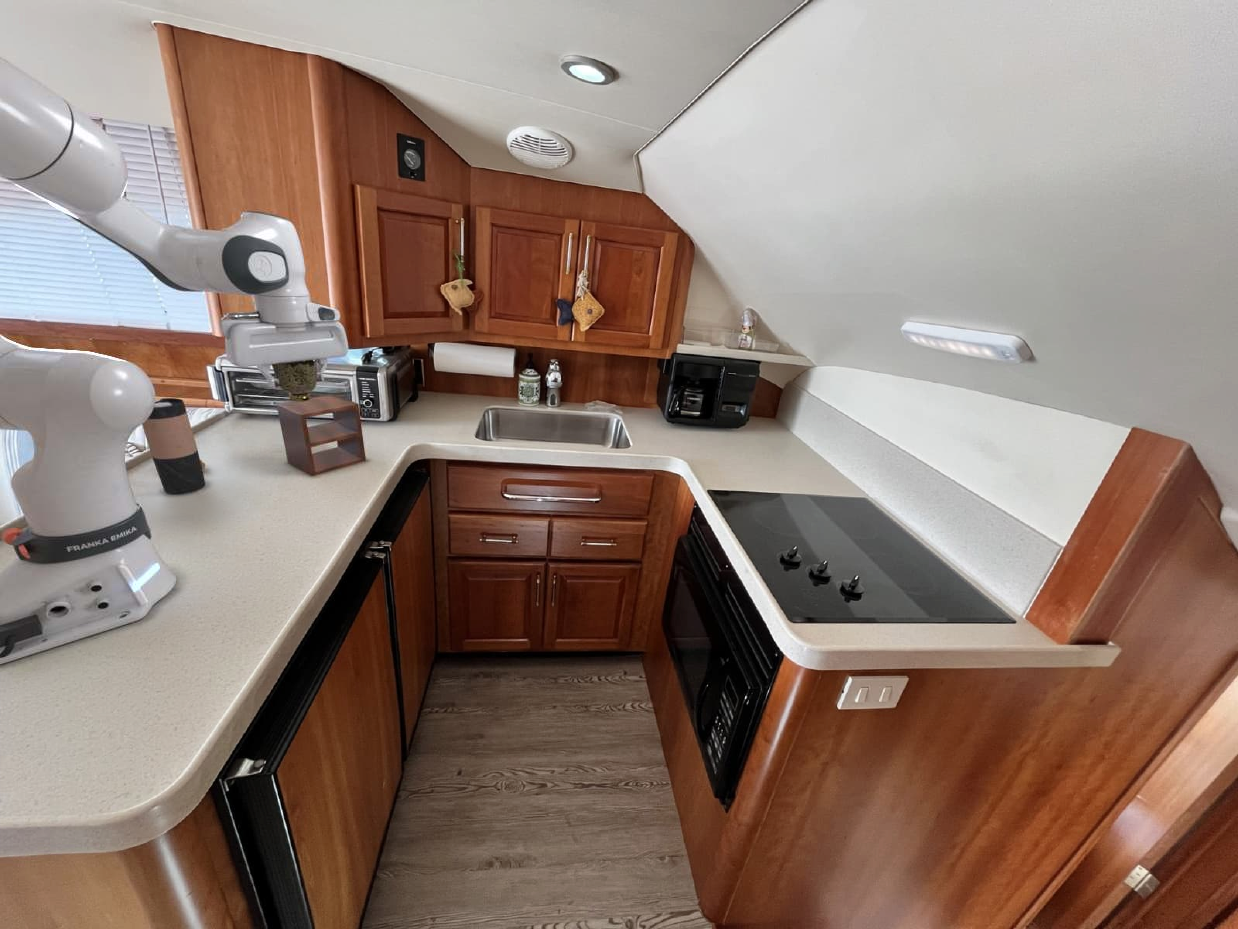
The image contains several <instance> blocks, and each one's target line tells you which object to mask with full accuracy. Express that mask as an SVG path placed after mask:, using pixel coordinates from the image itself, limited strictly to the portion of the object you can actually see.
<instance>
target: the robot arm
mask: <svg viewBox="0 0 1238 929" xmlns="http://www.w3.org/2000/svg"><path fill="white" fill-rule="evenodd" d="M0 177H1V178H3V179H4V180H6V181H8V182H10V183H11V184H13V185H15V186H17V187H19V188H21V189H23V190H25V191H27V192H29V193H30V194H32V195H34V196H36V197H38V198H39V199H42V200H44V201H46V202H47V203H48V204H50V205H51V206H52V207H53V208H55V209H57V210H58V211H59V212H62V213H63V214H64V215H66V216H68V217H69V218H71V219H72V220H74V221H76V222H77V223H79V224H80V225H81V226H82V225H83V227H86V228H87V229H88V230H90V231H92V232H94V233H96V234H97V235H98V236H100V237H102V238H104V239H106V240H107V241H109V242H110V243H112V244H114V245H116V246H117V247H118V248H120V249H122V250H123V251H125V252H127V253H128V254H129V255H131V256H133V257H134V258H135V260H138V262H140V263H141V264H142V265H143V266H144V267H145V268H146V269H147V270H148V271H149V272H150V273H151V275H152V276H153V277H155V278H156V279H157V280H158V281H159V282H161V283H162V284H164V285H165V286H167V287H169V288H170V289H173V290H176V291H180V292H188V293H189V292H192V293H193V292H195V293H196V292H199V293H202V292H208V293H214V294H224V295H225V294H226V295H237V296H252V301H253V305H254V311H245V312H235V311H233V312H228V313H227V314H226V315H224V316H223V317H221V319H220V320H219V327H220V331H221V334H222V336H223V337H224V345H225V346H224V347H225V348H224V349H225V355H226V359H227V361H228V362H229V363H230V364H232V365H233V366H235V367H237V368H251V367H256V368H257V370H258V371H259V373H260V374H262V375H263V376H264V377H265V379H266V383H267V386H268V387H269V388H270V389H277V388H280V387H281V384H280V380H279V378H276V376H273V375H272V374H271V373H270V372H269V371H271V370H272V368H271V367H272V366H271V365H272V364H278V363H288V362H297V361H306V360H313V361H315V360H317V383H319V382H324V381H325V376H324V375H325V374H324V373H325V370H326V369H327V366H328V364H329V362H328V359H334V358H342V357H343V358H344V357H346V356H347V355H348V353H349V343H348V339H347V334H346V329H345V327H344V325H343V324H342V323H341V322H340V321H339V320H340V319H341V313H340V310H338V309H336V308H333V307H330V306H327V305H323V304H321V303H319V302H315V301H311V295H310V294H311V293H310V291H309V289H308V287H307V284H306V272H307V271H306V264H305V258H304V253H303V248H302V243H301V241H300V237H299V235H298V232H297V229H296V228H295V225H294V224H293V223H292V222H291V221H290V220H288V219H287V218H284V217H283V216H280V215H277V214H274V213H273V214H272V213H267V212H264V211H263V212H262V211H253V210H251V211H250V210H248V211H247V210H246V211H243V212H242V213H241V215H240V219H239V220H238V221H237V222H235V223H234V224H232V225H230V226H228V227H225V228H222V229H221V230H215V229H214V230H213V229H201V228H192V227H183V226H177V225H172V224H167V223H163V222H161V221H158V220H156V219H154V218H153V217H151V216H150V215H149V214H147V212H144V211H143V210H141V209H140V208H139V207H137V206H136V205H134V204H133V203H132V202H130V201H129V200H127V199H126V198H125V197H123V195H124V192H125V190H126V188H127V185H128V181H129V180H128V179H129V170H128V164H127V160H126V158H125V155H124V152H123V151H122V149H121V146H120V145H119V144H118V143H117V142H116V141H115V139H114V138H112V136H110V135H109V133H107V132H106V131H105V130H104V129H103V128H102V127H101V126H100V125H99V124H98V123H96V122H95V121H94V120H93V119H92V118H91V117H89V116H88V115H87V114H86V113H84V112H83V111H81V110H80V109H78V108H77V107H76V106H74V105H73V104H72V103H71V102H69V101H68V100H66V99H65V98H63V97H62V96H61V95H59V94H57V93H56V92H55V91H53V89H51V88H49V87H47V86H46V85H45V84H43V83H42V82H41V81H40V80H37V79H36V78H34V77H33V76H32V75H30V74H28V73H27V72H26V71H24V70H22V69H21V68H20V67H18V66H16V65H15V64H14V63H11V62H10V61H8V60H6V59H5V58H4V57H2V56H0ZM155 402H156V391H155V387H154V384H153V383H152V380H151V379H150V377H149V376H148V375H147V373H146V372H145V371H144V370H143V369H142V368H141V367H139V366H138V365H137V364H135V363H133V362H130V361H127V360H124V359H120V358H116V357H113V356H109V355H105V354H101V353H95V352H92V351H83V350H82V351H81V350H68V349H67V350H66V349H50V348H37V347H29V346H25V345H22V344H19V343H16V342H14V341H12V340H10V339H7V338H6V337H4V336H3V335H2V334H0V430H1V431H2V430H3V431H20V432H21V431H22V432H27V433H28V434H29V435H30V437H31V438H32V442H33V458H32V459H30V460H28V461H27V462H25V463H24V464H23V465H21V466H20V467H19V468H17V469H16V470H15V472H14V473H13V474H12V476H11V479H10V487H11V489H12V492H13V494H14V497H15V498H16V501H17V503H18V506H19V507H20V510H21V512H22V514H23V517H24V519H25V521H26V523H27V525H28V527H27V528H26V529H25V530H24V531H23V529H21V528H20V529H19V528H18V527H11V528H7V529H6V530H4V531H3V533H1V539H3V541H4V543H5V544H7V545H9V546H12V547H13V550H14V552H15V554H16V556H17V558H15V560H13V561H12V562H11V563H10V564H9V565H7V566H6V567H5V568H4V569H3V570H1V571H0V665H2V664H3V665H4V664H6V663H9V662H12V661H16V660H19V659H21V658H22V659H23V658H25V657H29V656H31V655H35V654H37V653H41V652H44V651H47V650H51V649H53V648H56V647H58V646H63V645H65V644H68V643H72V642H74V641H77V640H80V639H84V638H87V637H90V636H94V635H97V634H100V633H103V632H105V631H109V630H112V629H115V628H118V627H121V626H124V625H128V624H131V623H134V622H137V621H139V620H141V619H143V618H144V617H146V616H147V615H148V613H149V612H150V610H151V609H152V607H153V606H154V605H155V604H156V603H158V602H159V601H160V600H162V599H163V598H164V597H165V596H167V595H168V594H169V593H170V592H171V591H172V590H173V588H174V587H175V586H176V583H177V576H176V574H175V573H174V572H173V571H172V569H170V567H169V566H168V565H167V564H166V563H165V561H164V560H163V558H162V557H161V555H160V554H159V551H158V549H157V548H156V546H155V545H154V542H153V540H152V533H151V531H152V530H151V527H150V523H149V521H148V518H147V515H146V512H145V510H143V507H142V506H140V504H139V503H138V502H137V500H136V498H135V495H134V491H133V488H132V485H131V481H130V478H129V474H128V471H127V470H128V469H127V467H126V450H127V445H128V441H129V439H130V437H131V435H132V434H133V432H134V431H136V429H137V428H139V427H140V426H142V424H143V423H144V422H145V421H146V420H147V419H148V417H149V416H150V415H151V413H152V411H153V408H154V405H155Z"/></svg>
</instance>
